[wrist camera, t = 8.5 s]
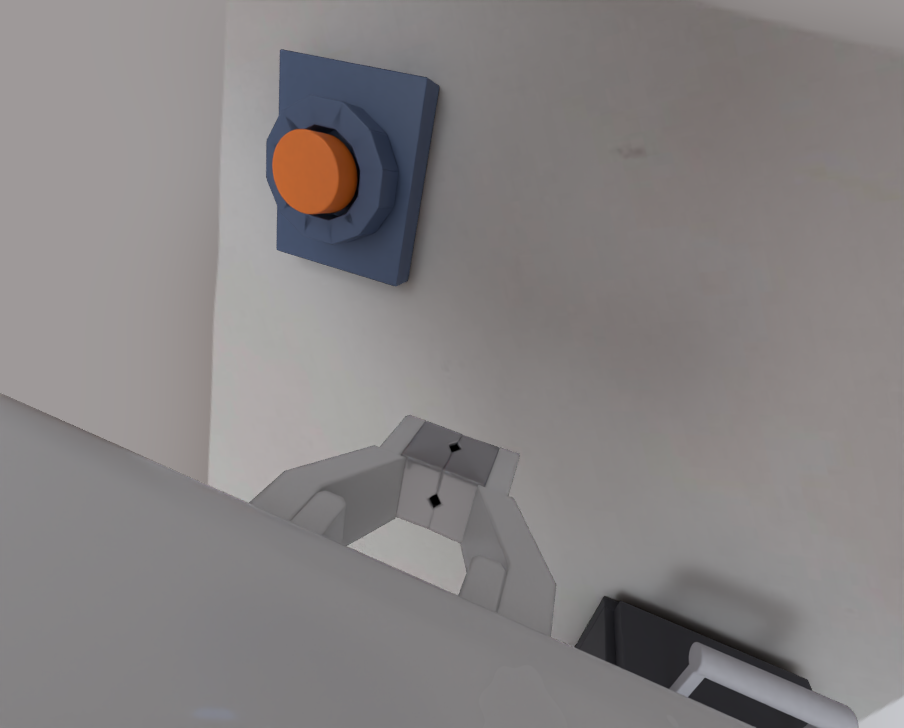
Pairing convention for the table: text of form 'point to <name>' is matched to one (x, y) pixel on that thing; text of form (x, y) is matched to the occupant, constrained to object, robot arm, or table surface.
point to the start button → (314, 172)
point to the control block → (358, 161)
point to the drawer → (720, 675)
